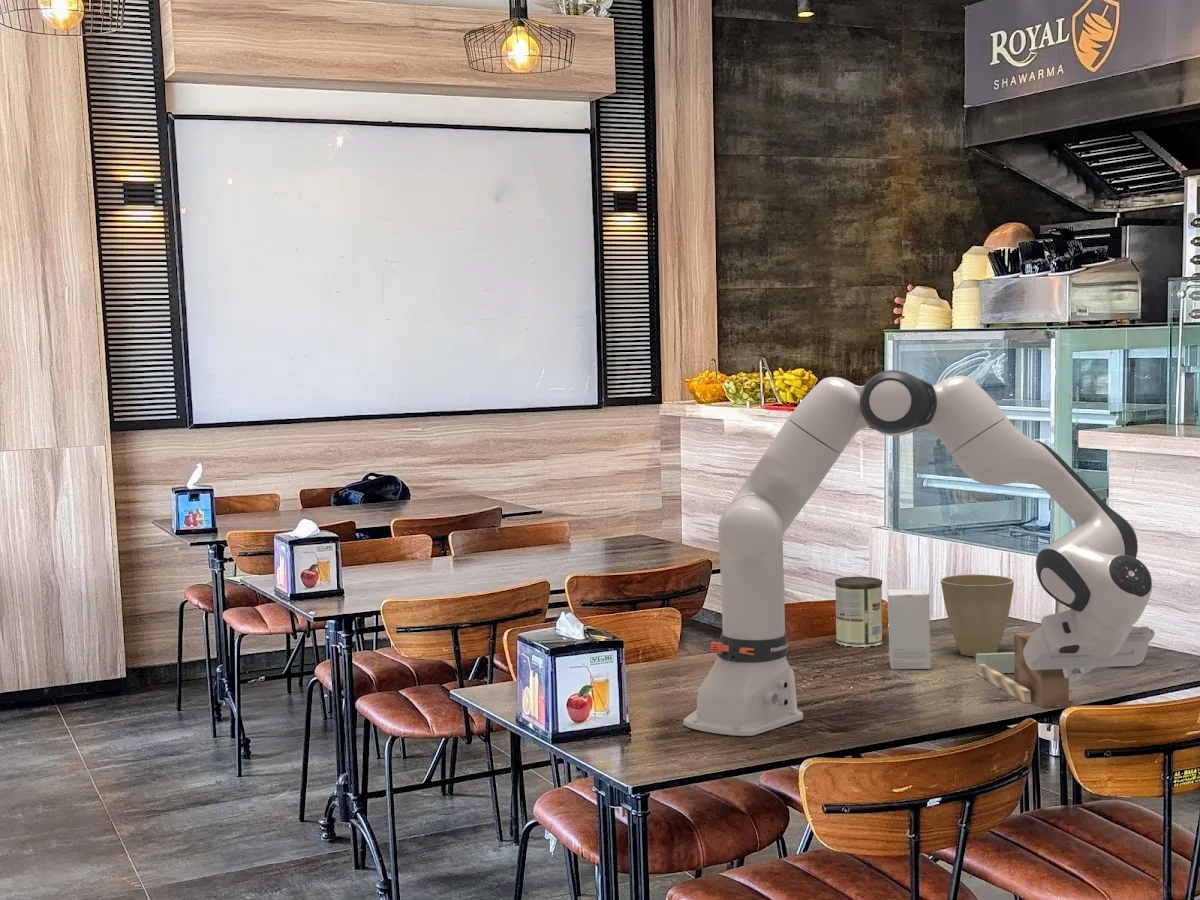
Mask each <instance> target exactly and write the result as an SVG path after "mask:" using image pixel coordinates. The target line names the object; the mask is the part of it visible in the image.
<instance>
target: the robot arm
mask: <svg viewBox="0 0 1200 900" xmlns="http://www.w3.org/2000/svg"><path fill="white" fill-rule="evenodd" d="M865 428H867V429H870V430H871V429H872V430H875V431H877V432H879V433H880V434H883V435H885V436H891V437H892V436H893V437H899V436H904V435H908V434H910V433H913V432H914V431H916V430H918V429H919V428H922V429H927V430H930V431H931V432H932V433H934V434H935V435H936V436H937V437H938V438H939V440H940V441H941V442H942V444H943V445H944V446H945V449H947V451H948V453H949V454H950V455H951V457H952V458H953V460H954V461H955V463H956V464H957V465H958V467H959V468H960V469H961V471H962V472H963V473H964V474H965V475H966V476H968V477H969V478H970V479H971V480H973V481H975V482H977V483H981V484H984V485H991V486H1003V485H1009V484H1017V483H1024V484H1025V483H1027V484H1032V485H1036V486H1038V487H1040V489H1043V491H1045V492H1046V493H1047V494H1048V495H1049V496H1050V497H1051V498H1052V499H1053V500H1054V502H1056V504H1057V505H1058V506H1059V507H1060V508H1061V509H1062V510H1063V511H1064V512H1065V513H1066V514H1067V515H1068V516H1069V518H1071V520H1072V521H1073V522H1074V525H1075V527H1073V529H1071V530H1069V531H1068V532H1067V533H1065V534H1064V535H1062V536H1060V537H1058V538H1057V539H1056V540H1055V541H1053V542H1052V543H1050V544H1049V545H1047V546H1046V547H1045V548H1043V549H1042V550H1040V551H1039V552H1038V554H1037V556H1036V559H1035V571H1036V576H1037V579H1038V581H1039V583H1040V584H1039V585H1041V587H1042V588H1043V590H1044V591H1045V593H1047V594H1048V595H1049V596H1050V597H1052V598H1053V600H1055V601H1057V602H1058V603H1060V604H1062V605H1064V606H1065V607H1067V608H1069V609H1067V610H1063V611H1059V612H1057V613H1051V614H1047V615H1044V616H1043V617H1042V618H1041V621H1040V622H1041V623H1040V624H1041V627H1039V628H1037V629H1036V630H1034V633H1033V632H1032V633H1033V634H1032V635H1031V637H1030V638H1029V640H1028V642H1027V643H1026V645H1025V647H1024V650H1023V655H1024V659H1025V662H1026V664H1027V666H1028V667H1029V669H1031V670H1049V669H1063V674H1064V677H1065V678H1069V679H1079V678H1083V677H1084V675H1085V674H1086V673H1087V674H1088V672H1091V671H1092V670H1094V669H1096V668H1110V667H1113V668H1115V667H1134V666H1137V665H1140V664H1141V663H1142V662H1143V661H1144V659H1145V657H1146V656H1147V653H1148V650H1149V646H1150V645H1149V643H1150V642H1151V641H1152V640H1153V638H1154V637H1155V631H1154V629H1152V628H1150V627H1149V626H1134V625H1135V624H1136V623H1137V622H1138V621H1139V619H1140V618H1141V616H1142V614H1143V613H1144V611H1145V609H1146V607H1147V605H1148V603H1149V601H1150V598H1151V596H1152V590H1153V578H1152V575H1151V573H1150V570H1149V569H1148V567H1147V566H1146V565H1145V564H1144V563H1143V562H1142V561H1141V560H1139V559H1138V558H1137V556H1138V548H1139V547H1138V546H1139V545H1138V538H1137V534H1136V531H1135V529H1134V528H1133V526H1132V525H1131V524H1130V523H1129V521H1128V520H1127V519H1125V518H1124V517H1123V516H1122V515H1120V514H1119V513H1118V512H1116V511H1115V510H1114V509H1112V508H1111V507H1110V506H1109V505H1108V504H1106V503H1105V502H1104V501H1103V500H1102V499H1101V497H1100V496H1099V495H1097V493H1095V492H1094V491H1093V489H1092V488H1091V487H1090V486H1089V485H1088V484H1087V483H1086V482H1085V481H1084V480H1083V479H1082V478H1081V477H1080V475H1078V473H1076V472H1075V471H1074V470H1073V469H1072V467H1071V466H1069V464H1068V463H1067V462H1066V461H1065V460H1063V458H1062V457H1061V456H1060V455H1059V454H1057V453H1058V452H1057V453H1056V452H1055V450H1054V449H1052V448H1051V447H1050V446H1049V445H1047V444H1045V443H1044V442H1042V441H1040V440H1038V439H1037V440H1035V439H1032V438H1030V437H1029V436H1027V435H1025V434H1024V433H1023V432H1021V430H1019V429H1018V428H1017V427H1016V426H1015V425H1014V424H1013V423H1012V421H1010V419H1009V418H1008V417H1007V415H1006V414H1005V413H1004V411H1003V409H1001V408H1000V407H999V405H998V404H997V402H995V401H994V399H993V398H992V397H991V396H990V395H989V394H988V393H987V392H986V391H985V390H984V389H983V388H982V387H981V385H979V384H978V383H977V382H976V381H975V380H974V379H972V378H970V377H969V376H965V375H954V376H950V377H947V378H945V379H943V380H941V381H939V382H938V383H936V384H934V385H932V384H931V383H929V382H928V381H925V380H923V379H920V378H918V377H916V376H915V375H913V374H911V373H908V372H907V371H906V372H905V371H902V370H896V369H893V370H892V369H889V370H883V371H880V372H877V373H876V374H875V375H873V376H871V377H870V378H869V379H868V380H867V382H866V383H865V384H864V385H856V384H855V383H852V382H850V381H849V380H848V379H844V378H842V377H837V376H829V377H824V378H822V379H821V380H820V381H818V383H817V384H816V385H815V386H813V388H811V390H810V391H809V392H808V393H807V394H806V395H805V396H804V398H803V399H802V400H800V402H799V403H798V404H797V406H796V407H795V409H794V410H793V411H792V412H791V414H790V415H789V417H788V418H787V419H786V421H785V423H784V424H783V425H782V427H781V428H780V429H779V431H778V433H777V434H776V436H775V437H774V439H773V440H772V442H771V443H770V445H769V446H768V448H767V449H766V450H765V452H764V453H763V455H762V457H761V458H760V459H759V461H758V462H757V464H756V465H755V466H754V468H753V469H752V471H751V473H750V474H749V475H748V477H747V478H746V480H745V481H744V483H743V485H742V486H741V487H740V489H739V490H738V491H737V493H736V494H735V496H734V498H733V499H732V500H731V502H730V503H729V505H728V506H727V507H726V509H725V511H724V512H722V513H723V514H722V515H721V516H720V519H719V522H718V528H717V530H718V531H717V533H718V552H719V555H718V556H719V567H720V568H719V570H720V583H721V604H722V606H721V607H722V608H721V611H722V612H721V613H722V614H721V618H722V625H721V626H722V632H721V634H720V636H719V640H718V642H717V641H711V642H710V645H709V646H710V647H709V649H710V651H711V653H712V654H716V656H717V658H716V661H715V662H714V664H713V666H712V667H711V669H710V670H709V672H708V674H706V677H705V679H704V680H703V682H702V684H701V685H700V686H699V688H698V691H697V697H696V709H695V710H694V711H693V712H691V713H690V714H688V715H687V716H685V718H683V723H682V725H683V726H685V727H686V728H689V729H693V730H696V731H700V732H706V733H710V734H711V733H712V734H719V735H727V736H735V737H736V736H738V737H739V736H740V737H751V736H752V737H753V736H757V735H759V734H761V733H766V732H768V731H771V730H775V729H778V728H781V727H784V726H786V725H790V724H792V723H795V722H799V721H802V720H804V713H803V711H801V710H800V709H798V703H797V692H796V691H797V690H796V680H795V672H794V670H793V668H792V667H791V665H790V664H789V661H788V659H787V655H788V653H789V652H788V651H789V650H788V647H789V641H788V635H787V633H786V627H785V626H786V624H785V623H786V621H785V620H786V619H785V618H786V617H785V616H786V615H785V613H786V612H785V579H784V573H785V572H784V542H783V538H784V534H785V533H786V531H787V530H788V529H789V528H790V525H792V523H793V521H794V520H795V519H796V518H797V516H798V515H799V514H800V512H801V510H802V509H803V508H804V507H805V505H806V504H807V502H808V501H809V499H811V498H812V496H813V494H814V493H815V492H816V491H817V490H818V488H819V486H820V485H821V483H822V482H823V480H824V479H825V478H826V476H827V475H828V473H829V472H830V470H831V469H832V467H833V466H834V465H835V464H836V462H837V460H838V459H839V457H840V456H841V454H842V453H843V452H844V450H845V448H846V447H847V445H848V444H849V443H850V441H851V440H852V439H853V437H854V436H855V435H856V434H857V433H859V431H861V430H863V429H865Z"/></svg>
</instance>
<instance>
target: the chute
mask: <svg viewBox="0 0 1200 900" xmlns="http://www.w3.org/2000/svg"><path fill="white" fill-rule="evenodd" d="M979 675H980V676H979ZM978 676H979V677H981V678H982V677H983V678H982V679H984V678H985V679H984V680H986V679H987V680H988V681H987V680H986V681H987V682H989V683H991V684H992V685H994V686H995V685H996V686H995V687H997V688H998V689H1000V688H1001V689H1000V690H1002V691H1004V692H1005V691H1006V692H1005V693H1008V695H1010V696H1012V697H1014V698H1015V699H1017V700H1018V701H1020V702H1022V703H1024V704H1031V702H1032V701H1031V691H1030V690H1028V689H1027V688H1025V687H1023V686H1021V685H1020V684H1018V683H1016V682H1015V681H1014V680H1013V679H1012V678H1009V677H1007V676H1006V675H1005V674H1001V673H999V672H997V671H996V670H994V669H992V668H990V667H989V666H987V665H985V664H978ZM1072 692H1073V689H1072V688H1070V687H1069V702H1073V701H1072V699H1073V698H1072V697H1073V693H1072Z"/></svg>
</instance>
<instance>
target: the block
mask: <svg viewBox="0 0 1200 900" xmlns="http://www.w3.org/2000/svg"><path fill="white" fill-rule="evenodd" d="M1034 632H1035V631H1034ZM1034 632H1033V631H1032V632H1015V633H1014V652H1015V673H1014V677H1013V679H1014V680H1013V681H1015V682H1016V683H1018V684H1020V685H1021V686H1023V687H1025V688H1027V689H1028V690H1030V691H1031V702H1032V703H1034V704H1035V705H1036V706H1039V707H1040V708H1052V707H1051V706H1057V705H1061V706H1060V707H1069V705H1070V701H1069V688H1070V685H1069V684H1070V678H1065V677H1064V674H1063V669H1049V670H1031V669H1029V667H1028V666H1027V664H1026V662H1025V659H1024V655H1023V650H1024V647H1025V645H1026V643H1027V642H1028V640H1029V638H1030V637H1031V635H1032V634H1033V633H1034Z"/></svg>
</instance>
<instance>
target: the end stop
mask: <svg viewBox="0 0 1200 900" xmlns="http://www.w3.org/2000/svg"><path fill="white" fill-rule="evenodd" d="M978 664H985V665H987V666H989V667H990V668H992V669H994V670H996V671H997V672H999V673H1001V674H1002V673H1003V675H1005V674H1004V673H1014V674H1015V651H1013V652H1010V651H1009V652H997V653H981V654H976V657H975V674H976V675H977V674H978Z"/></svg>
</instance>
